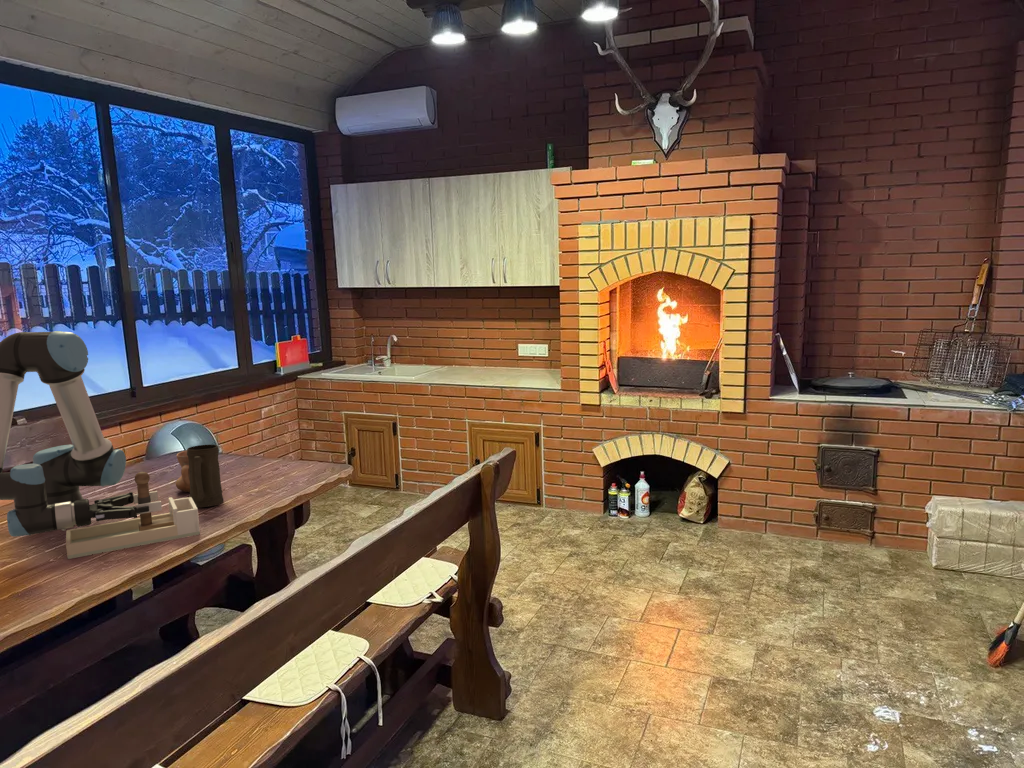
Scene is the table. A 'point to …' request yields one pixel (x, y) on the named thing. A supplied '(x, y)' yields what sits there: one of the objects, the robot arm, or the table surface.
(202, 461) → the beer stein
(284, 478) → the table surface
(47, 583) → the table surface
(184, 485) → the ceramic jug
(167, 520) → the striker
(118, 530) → the cream long tray
